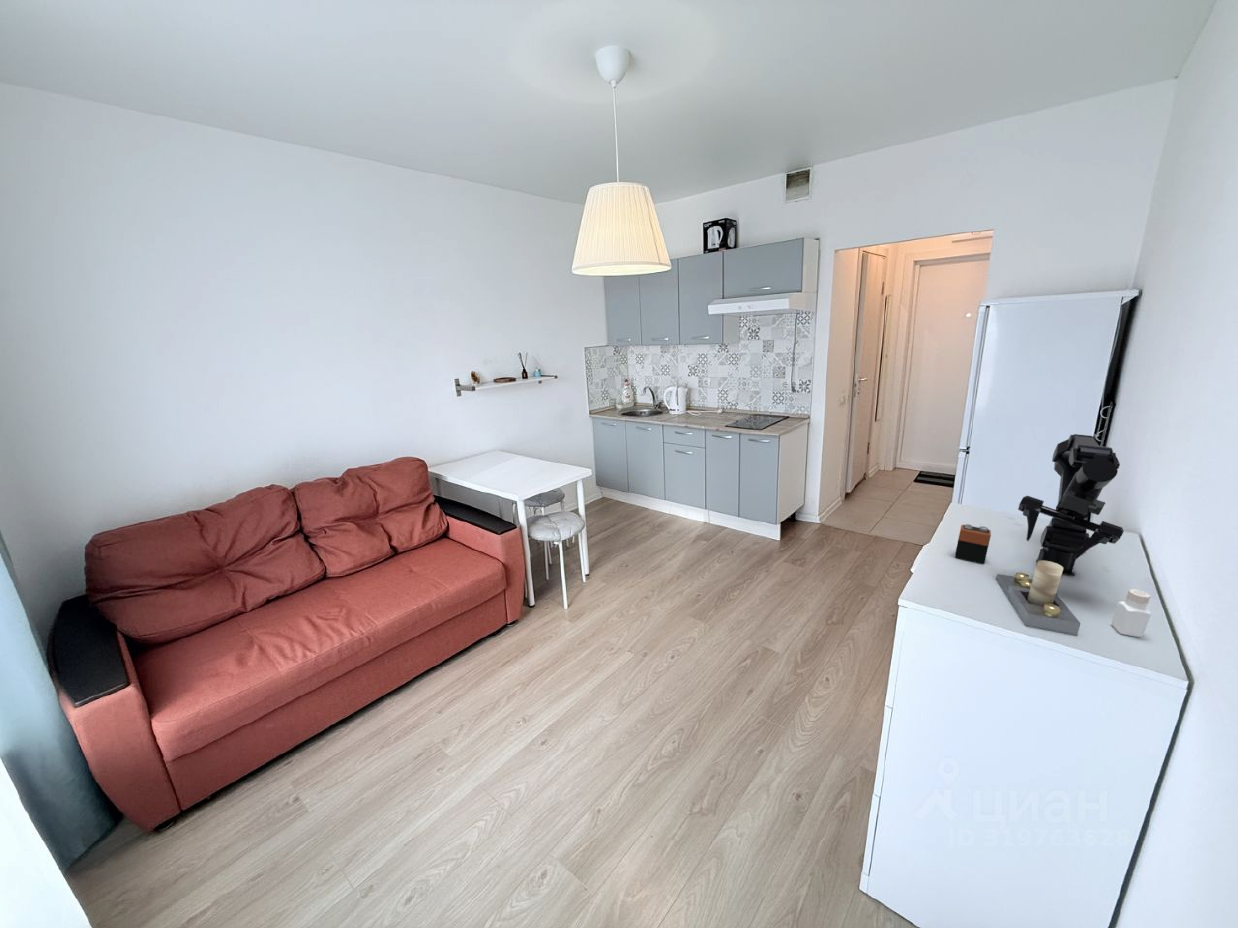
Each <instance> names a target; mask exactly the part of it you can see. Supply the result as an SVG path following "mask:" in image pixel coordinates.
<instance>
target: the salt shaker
mask: <svg viewBox="0 0 1238 928" xmlns="http://www.w3.org/2000/svg"><path fill="white" fill-rule="evenodd" d="M1125 598H1126V599H1125V600H1124V601H1123V600H1121V601H1118V603H1117V606H1116V609H1115V611H1114V614H1113V617H1112V620H1111V626H1112V627H1113V628H1114V629H1115V630H1116V631H1117V632H1118V633H1119V634H1121V635H1125V636H1131V637H1136V638H1143V637H1144V635H1145V632H1146V629H1147V627H1148V624H1149V621H1150V618H1151V616H1152V614H1151V613H1152V612H1151V611H1150V610H1149V609H1148V608H1147V605H1149V602H1150V599H1151V595H1150V593H1147V592H1146V591H1142V590H1139V589H1134V588H1133V589H1132V588H1131V589H1129V590H1127V594H1126V597H1125Z"/></svg>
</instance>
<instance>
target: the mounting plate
mask: <svg viewBox="0 0 1238 928" xmlns="http://www.w3.org/2000/svg"><path fill="white" fill-rule="evenodd" d="M995 580H996V581H997V583H998V585H999V586H1000V588H1001V590H1002V591H1003V593H1004V594H1005V596H1006V598H1007V597H1008V598H1007V599H1008V601H1009V600H1010V601H1009V602H1010V605H1013V606H1012V607H1013V609H1014V610H1015V612H1016V614H1017V615H1018V616H1019V618H1020V620H1021V622H1022V623H1023V624H1024V626H1025V627H1030V628H1036V629H1040V630H1047V631H1051V632H1056V633H1062V634H1067V635H1073V636H1078V633H1079V630H1080V626H1081V622H1080V621H1079V619H1078V618H1077V617H1076V616H1075V615H1074V613H1073V612H1072V611H1071V610H1070V608H1069V607H1068V606H1067V605H1066V604H1065V603H1064V601H1063V600H1062V599H1061V598H1060V596H1059V595H1058V594H1057V593H1056V595H1055V598H1054V601H1053V604H1050V603H1046V604H1045V605H1044V606H1039V605H1033V604H1029V603H1028V602H1027V598H1028V595H1029V591H1030V588H1031V584H1032V581H1033V578H1032V579H1030V575H1029V574H1027V573H1025V572H1022V571H1021V572H1020V571H1018V572H1017V571H1016V573H1015V575H1014V576H1011V575H1005V574H1001V573H996V576H995Z"/></svg>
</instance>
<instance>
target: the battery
mask: <svg viewBox="0 0 1238 928" xmlns="http://www.w3.org/2000/svg"><path fill="white" fill-rule="evenodd" d="M991 534H992V531H991V529H989V527H987V526H982V525H980V526H979V527H978V526H973V525H971V524H970V523H965V524H961V525H960V530H959V534H958V539H957V544H956V547H955V548H956V549H955V558H956V559H959V560H964V561H968V562H973V563H976V564H982V565H984V564H985V561H986V558H987V554H988V553H987V552H988V549H989V544H990V541H991V536H992V535H991Z"/></svg>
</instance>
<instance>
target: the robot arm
mask: <svg viewBox="0 0 1238 928" xmlns="http://www.w3.org/2000/svg"><path fill="white" fill-rule="evenodd" d="M1096 439H1097V438H1096V436H1093V435H1088V434H1087V435H1086V434H1077V433H1075V434H1070V435H1069V437H1068V439H1066V440H1063V441H1062V442H1059V443H1057V445H1056V447H1055V449H1054V452H1053V454H1052V459H1051V460H1052V461H1051V462H1052V463H1054V467H1053V469H1054V470H1053V471H1055V472H1056V473H1057V474H1058V476H1059V477H1060V481H1059V489H1058V491H1059V492H1058V500H1057V504H1056V506H1055V508H1052V507H1049V506H1045V505H1044V500H1042V499H1039V498H1036V497H1033V496H1030V495H1026V496H1022V499H1021V501H1020V502H1019V504H1018V508H1017V510H1018V511H1020V512H1022V515H1023V516H1025V517H1026V519H1027V530H1026V531H1027V532H1026V541H1027V542H1029V541H1030V539H1031V538H1032V536H1033V532H1034V529H1035V526H1036V523H1037V521H1038V518H1039V514H1043V515H1045V516H1047V517H1050V518H1051V519H1050V521H1049V524H1048V525H1046V526H1045V528H1044V529H1043V531H1042V532H1041V536H1040V541H1039V543H1040V546H1041V547H1042V548H1040V549H1039V553H1038V556H1037V559H1036V563H1038V561H1041V560H1044V561H1050V562H1054V563H1057V564H1059V565H1061V566H1062V567H1063V572H1062V575H1067V576H1068V575H1069V576H1074V577H1075V576H1076V573H1075V571H1073V570H1074V567H1075V564H1076V561H1077V560H1078V559H1079V558H1080V557H1081V556H1084V555H1085V554H1086V553H1087V551H1089V550H1090V549H1092V548H1093V547H1095V546H1097V545H1099V544H1102V545H1106V544H1108V543H1109V544H1113V545H1115V544H1116V543H1117V542H1119V540H1120V539H1121V537H1122V536H1123V534H1124V531H1125V530H1124V528H1123V527H1122V526H1119V525H1116V524H1113V523H1110V522H1108V521H1104V520H1102V521H1101V522H1100V523H1095V522H1093V521H1090V520H1087V519H1088V518H1089V515H1090V514H1094V515H1096V516H1099V515H1100V514H1101V512H1102V510H1103V508H1104V507H1105V505H1106V502H1105V501H1102V500H1099V499H1098V498H1099V496H1100V495H1101V493H1102V491H1103V489H1104V488H1105V487H1106V486H1107V485H1108V484H1109V483H1110V482H1112V481H1113V479H1115V478H1116V476H1117V475H1118V469H1120V465H1121V463H1120V461H1119V458H1118V457H1117V453H1116V452H1114V450H1113V448H1112V447H1111V446H1109V447H1108V446H1101V445H1100V444H1098V442H1097V441H1096ZM1087 530H1088V531H1092V532H1093V533H1092V534H1091V535H1090V534H1089V532H1087Z"/></svg>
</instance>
